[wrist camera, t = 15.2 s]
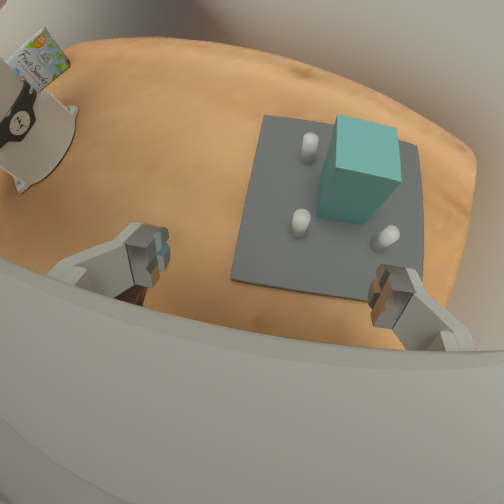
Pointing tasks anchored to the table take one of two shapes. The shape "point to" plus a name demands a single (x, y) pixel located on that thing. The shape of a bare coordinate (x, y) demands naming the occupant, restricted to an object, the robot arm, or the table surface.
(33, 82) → the snack box
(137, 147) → the table surface
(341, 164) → the teal post
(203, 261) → the table surface
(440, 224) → the table surface
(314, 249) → the peg board
